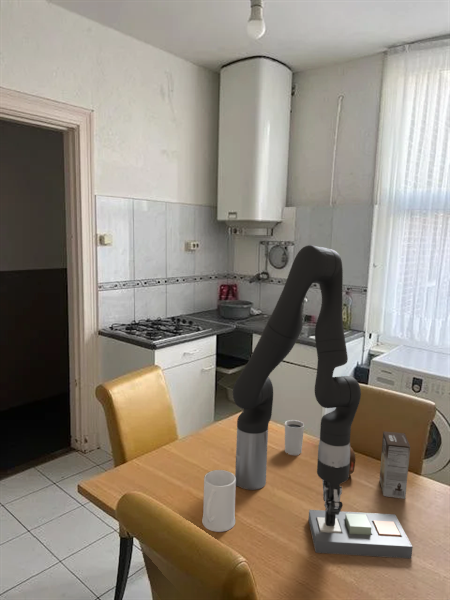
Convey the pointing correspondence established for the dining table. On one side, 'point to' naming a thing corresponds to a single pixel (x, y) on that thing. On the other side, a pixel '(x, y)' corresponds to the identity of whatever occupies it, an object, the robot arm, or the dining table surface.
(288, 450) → the white cup
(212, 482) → the mug
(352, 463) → the tin
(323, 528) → the offwhite button
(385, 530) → the terracotta button
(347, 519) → the sage button
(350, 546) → the button panel
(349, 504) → the dining table surface
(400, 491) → the coffee box
